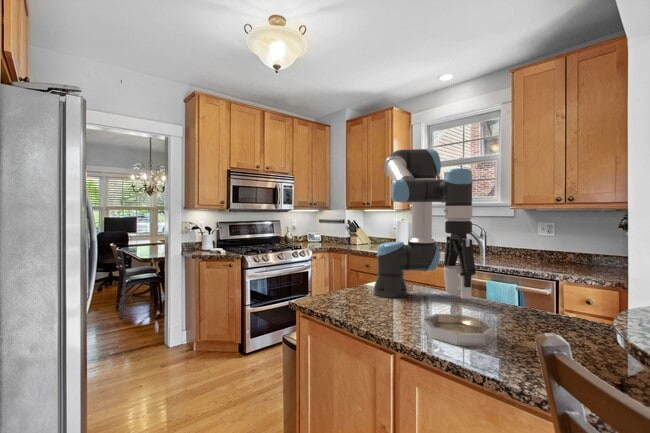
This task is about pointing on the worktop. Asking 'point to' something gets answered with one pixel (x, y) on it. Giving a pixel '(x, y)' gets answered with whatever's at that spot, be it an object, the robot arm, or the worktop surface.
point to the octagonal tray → (459, 329)
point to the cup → (453, 279)
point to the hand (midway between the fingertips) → (458, 293)
